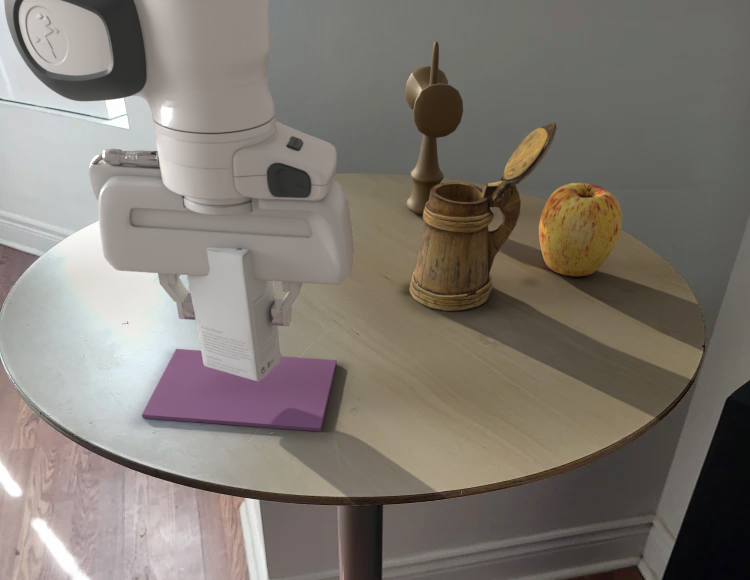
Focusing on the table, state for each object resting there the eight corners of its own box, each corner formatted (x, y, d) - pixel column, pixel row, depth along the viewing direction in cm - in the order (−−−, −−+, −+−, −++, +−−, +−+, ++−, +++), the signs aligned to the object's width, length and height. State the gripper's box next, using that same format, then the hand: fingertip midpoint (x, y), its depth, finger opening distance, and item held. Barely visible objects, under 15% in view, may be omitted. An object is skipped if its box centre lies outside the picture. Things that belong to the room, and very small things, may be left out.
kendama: (407, 226, 100) (417, 51, 87) (397, 196, 107) (405, 31, 94) (453, 225, 101) (470, 51, 87) (440, 195, 108) (454, 31, 94)
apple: (607, 257, 95) (628, 174, 88) (610, 292, 88) (632, 205, 82) (533, 250, 96) (547, 167, 89) (530, 283, 89) (545, 197, 83)
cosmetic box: (282, 361, 71) (274, 234, 63) (257, 386, 68) (245, 256, 60) (225, 345, 73) (210, 219, 65) (198, 368, 70) (179, 240, 62)
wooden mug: (536, 311, 85) (568, 138, 72) (413, 311, 84) (424, 136, 72) (521, 273, 91) (548, 109, 79) (406, 273, 90) (416, 107, 78)
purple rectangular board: (142, 418, 69) (141, 414, 69) (176, 352, 77) (175, 348, 77) (320, 431, 68) (320, 428, 68) (336, 363, 76) (336, 359, 76)
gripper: (67, 162, 56) (107, 330, 66) (347, 178, 55) (347, 346, 65) (98, 133, 61) (131, 294, 70) (356, 148, 60) (355, 309, 69)
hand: (236, 319), depth 68 cm, fingers closed on cosmetic box, 7 cm apart
